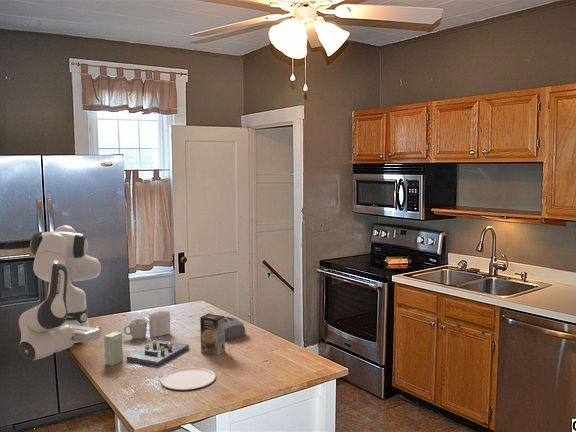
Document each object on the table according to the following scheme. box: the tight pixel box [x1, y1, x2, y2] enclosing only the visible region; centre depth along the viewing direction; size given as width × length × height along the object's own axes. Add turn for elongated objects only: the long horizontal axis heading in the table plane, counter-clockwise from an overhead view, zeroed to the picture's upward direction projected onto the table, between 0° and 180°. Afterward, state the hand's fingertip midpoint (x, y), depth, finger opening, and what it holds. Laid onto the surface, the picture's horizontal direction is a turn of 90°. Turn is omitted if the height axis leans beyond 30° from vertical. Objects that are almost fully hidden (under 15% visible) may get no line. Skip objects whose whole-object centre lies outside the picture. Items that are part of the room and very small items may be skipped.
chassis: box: [126, 339, 190, 368], centre depth 229 cm, size 16×22×5 cm
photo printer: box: [148, 309, 171, 338], centre depth 255 cm, size 10×4×12 cm, turn 123°
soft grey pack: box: [225, 316, 246, 341], centre depth 255 cm, size 15×8×20 cm
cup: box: [123, 318, 148, 340], centre depth 251 cm, size 11×8×8 cm
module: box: [103, 331, 124, 366], centre depth 220 cm, size 4×6×12 cm
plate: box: [160, 366, 217, 391], centre depth 202 cm, size 21×21×1 cm
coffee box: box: [199, 313, 226, 356], centre depth 231 cm, size 9×6×16 cm
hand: (90, 326), depth 208 cm, fingers open, 8 cm apart
